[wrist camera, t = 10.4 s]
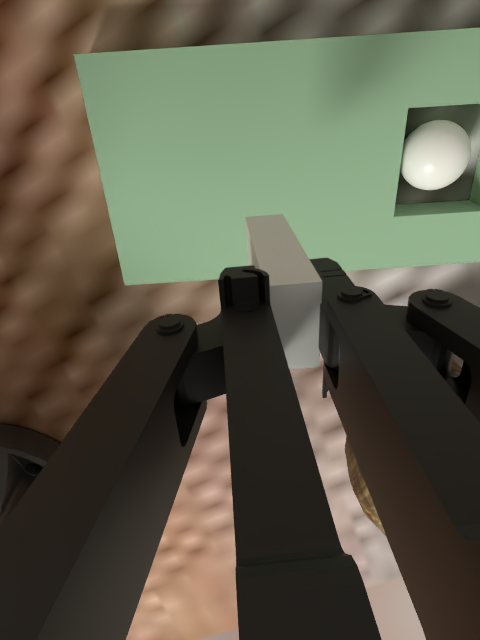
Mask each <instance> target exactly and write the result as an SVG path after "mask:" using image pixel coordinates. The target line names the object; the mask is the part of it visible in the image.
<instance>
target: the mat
mask: <svg viewBox="0 0 480 640" xmlns="http://www.w3.org/2000/svg"><path fill="white" fill-rule="evenodd" d="M74 58H75V63H76V67H77V72H78V76H79V81H80V85H81V90H82V94H83V99H84V103H85V108H86V112H87V117H88V121H89V126H90V131H91V135H92V140H93V144H94V149H95V153H96V158H97V162H98V167H99V171H100V176H101V180H102V185H103V189H104V194H105V198H106V203H107V207H108V212H109V216H110V221H111V225H112V230H113V234H114V239H115V243H116V248H117V253H118V257H119V262H120V266H121V271H122V275H123V280H124V284H125V285H140V284H155V283H170V282H185V281H200V280H215V279H219V277H220V273H221V272H222V271H223V270H224V269H225V268H227V267H238V266H248V254H247V237H246V221H245V217H252V216H264V215H276V214H283V215H284V217H285V219H286V220H287V222H288V224H289V226H290V227H291V229H292V231H293V232H294V234H295V236H296V237H297V239H298V241H299V243H300V244H301V246H302V248H303V249H304V251H305V253H306V254H307V256H308V258H309V259H317V258H330V259H332V260H334V261H336V262H338V264H339V265H340V266H341V268H342V270H344V271H351V270H366V269H381V268H396V267H411V266H426V265H441V264H456V263H472V262H480V152H479V157H478V161H477V166H476V170H475V174H474V179H473V183H472V188H471V192H470V197H469V200H462V201H446V202H431V203H416V204H401V205H395V202H396V195H397V187H398V180H399V173H400V165H401V158H402V150H403V143H404V136H405V128H406V121H407V113H408V108H419V107H434V106H449V105H464V104H479V103H480V28H465V29H450V30H435V31H419V32H404V33H389V34H374V35H359V36H344V37H329V38H314V39H298V40H283V41H268V42H253V43H238V44H223V45H208V46H193V47H177V48H162V49H147V50H132V51H117V52H102V53H87V54H74Z"/></svg>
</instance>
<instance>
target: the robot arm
mask: <svg viewBox="0 0 480 640" xmlns="http://www.w3.org/2000/svg"><path fill="white" fill-rule="evenodd" d="M245 221H246V237H247V254H248V266H238V267H227V268H225V269H224V270H223V271H222V272H221V273H220V277H219V279H218V284H219V293H220V303H221V312H220V314H219V315H218V316H217V317H216V318H214V319H212V320H211V321H209V322H206V323H203V324H199V325H196V322H195V321H194V319H193V318H191V317H189V316H187V315H181V314H167V315H165V316H164V315H163V316H160V317H158V318H156V319H154V320H152V321H150V322H149V323H148V324H147V325H146V326H145V327H144V328H143V330H142V331H141V332H140V334H139V335H138V337H137V338H136V339H135V341H134V342H133V343H132V345H131V346H130V348H129V349H128V350H127V352H126V353H125V355H124V356H123V357H122V359H121V360H120V362H119V363H118V364H117V366H116V367H115V369H114V370H113V371H112V373H111V374H110V376H109V377H108V378H107V380H106V381H105V383H104V384H103V385H102V387H101V388H100V389H99V391H98V392H97V394H96V395H95V396H94V398H93V399H92V401H91V402H90V403H89V405H88V406H87V408H86V409H85V410H84V412H83V413H82V415H81V416H80V417H79V419H78V420H77V422H76V423H75V424H74V426H73V427H72V429H71V430H70V431H69V433H68V434H67V435H66V437H65V438H64V440H63V441H62V442H61V444H60V443H58V442H57V441H55V440H53V439H51V438H49V437H47V436H45V435H42V434H40V433H37V432H35V431H32V430H28V429H25V428H21V427H17V426H12V425H6V424H0V640H126V637H127V634H128V631H129V628H130V625H131V623H132V620H133V617H134V614H135V611H136V608H137V605H138V603H139V600H140V597H141V594H142V591H143V588H144V586H145V583H146V580H147V577H148V574H149V571H150V568H151V566H152V563H153V560H154V557H155V554H156V551H157V548H158V546H159V543H160V540H161V537H162V534H163V531H164V528H165V526H166V523H167V520H168V517H169V514H170V511H171V508H172V506H173V503H174V500H175V497H176V494H177V491H178V488H179V486H180V483H181V480H182V477H183V474H184V471H185V468H186V466H187V463H188V460H189V457H190V454H191V451H192V448H193V446H194V443H195V440H196V437H197V434H198V431H199V429H200V426H201V423H202V420H203V417H204V414H205V411H206V409H207V400H208V399H211V398H214V397H217V396H220V395H223V394H226V398H227V414H228V430H229V447H230V463H231V479H232V496H233V512H234V528H235V545H236V590H237V609H238V626H239V640H381V637H380V633H379V630H378V627H377V624H376V621H375V618H374V615H373V612H372V608H371V605H370V602H369V599H368V595H367V592H366V589H365V586H364V583H363V580H362V577H361V575H360V572H359V569H358V567H357V564H356V563H355V561H354V559H353V558H352V556H351V555H348V554H345V553H344V551H343V549H342V547H341V544H340V541H339V538H338V535H337V532H336V528H335V525H334V521H333V518H332V514H331V511H330V507H329V504H328V501H327V497H326V494H325V490H324V487H323V483H322V480H321V477H320V473H319V470H318V466H317V463H316V459H315V456H314V453H313V449H312V446H311V442H310V439H309V435H308V432H307V428H306V425H305V422H304V418H303V415H302V411H301V408H300V404H299V401H298V398H297V394H296V391H295V387H294V384H293V380H292V377H291V374H290V370H289V369H300V368H311V367H319V360H320V352H321V355H322V357H323V359H324V367H323V390H322V394H323V398H327V391H328V390H329V392H330V394H331V397H332V399H333V402H334V404H335V407H336V409H337V412H338V415H339V417H340V420H341V422H342V425H343V427H344V430H345V432H346V435H347V437H348V440H349V442H350V445H351V448H352V450H353V453H354V455H355V458H356V460H357V463H358V465H359V468H360V470H361V473H362V476H363V478H364V481H365V483H366V486H367V488H368V491H369V493H370V496H371V498H372V501H373V504H374V506H375V509H376V511H377V514H378V516H379V519H380V521H381V524H382V526H383V529H384V531H385V534H386V537H387V539H388V542H389V544H390V547H391V549H392V552H393V554H394V557H395V559H396V562H397V565H398V567H399V570H400V572H401V575H402V577H403V580H404V582H405V585H406V587H407V590H408V592H409V595H410V597H411V600H412V603H413V605H414V608H415V610H416V613H417V615H418V618H419V620H420V623H421V626H422V628H423V631H424V634H425V637H426V640H480V308H479V307H477V306H475V305H473V304H471V303H470V302H468V301H466V300H464V299H462V298H461V297H459V296H456V295H454V294H452V293H449V292H444V291H442V290H437V289H435V290H433V289H427V290H422V291H417V292H415V293H412V294H411V295H410V297H409V300H408V306H394V305H385V304H383V302H382V301H381V300H380V299H379V297H378V296H377V295H376V294H375V293H374V292H372V291H371V290H369V289H367V288H364V287H358V286H355V285H354V284H353V283H352V281H351V280H350V278H349V277H348V276H346V273H345V272H344V270H342V268H341V266H340V265H339V264H338V262H336V261H334V260H332V259H330V258H317V259H309V258H308V256H307V254H306V253H305V251H304V249H303V248H302V246H301V244H300V243H299V241H298V239H297V237H296V236H295V234H294V232H293V231H292V229H291V227H290V226H289V224H288V222H287V220H286V219H285V217H284V215H283V214H276V215H264V216H252V217H245ZM454 354H455V355H457V356H458V357H460V358H461V359H462V360H464V362H463V366H462V370H461V373H460V375H458V374H456V373H455V372H453V371H452V370H451V365H452V361H453V357H454Z"/></svg>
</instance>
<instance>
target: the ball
mask: <svg viewBox="0 0 480 640" xmlns="http://www.w3.org/2000/svg"><path fill="white" fill-rule="evenodd" d="M470 156H471V143H470V139H469V137H468V135H467V133H466V132H465V130H464V129H463V128H462V127H461V126H459V125H458V124H456V123H454V122H451V121H448V120H433V121H430V122H427V123H424V124H422V125H420V126H419V127H417V128H416V129H415V130H413V131H412V132H411V133H410V134H409V136H408V137H407V138H406V140H405V141H404V143H403V150H402V158H401V165H400V171H401V173H402V175H403V177H404V178H405V180H406V181H407V182H408V183H409V184H411V185H412V186H414V187H416V188H419V189H422V190H436V189H440V188H443V187H446V186H448V185H450V184H451V183H453V182H454V181H455V180H456V179H458V178H459V177H460V176H461V174H462V173H463V172H464V170H465V169H466V167H467V165H468V163H469V160H470Z"/></svg>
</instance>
